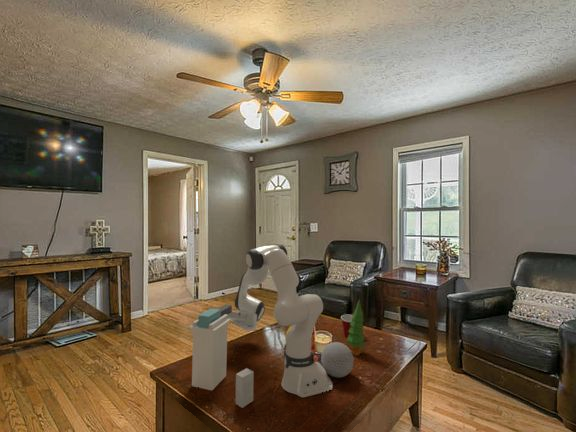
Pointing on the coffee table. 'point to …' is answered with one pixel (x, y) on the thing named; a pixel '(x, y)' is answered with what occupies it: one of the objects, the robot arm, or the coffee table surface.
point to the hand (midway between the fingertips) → (231, 312)
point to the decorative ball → (337, 359)
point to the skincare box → (244, 387)
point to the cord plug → (213, 315)
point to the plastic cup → (346, 323)
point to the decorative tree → (356, 330)
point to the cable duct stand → (209, 353)
